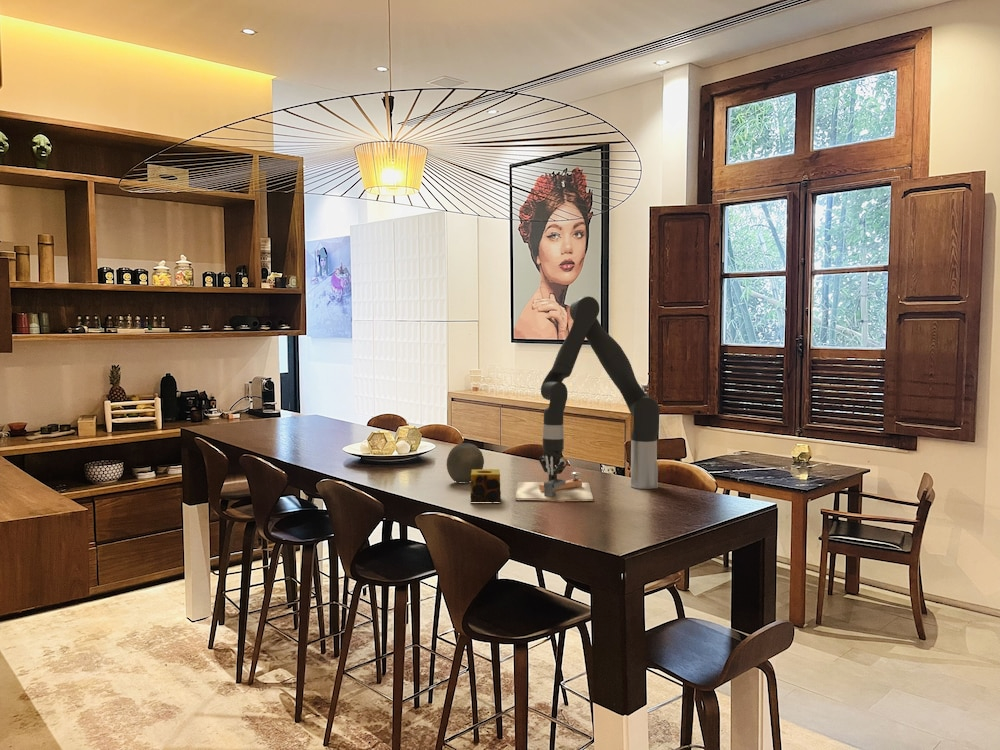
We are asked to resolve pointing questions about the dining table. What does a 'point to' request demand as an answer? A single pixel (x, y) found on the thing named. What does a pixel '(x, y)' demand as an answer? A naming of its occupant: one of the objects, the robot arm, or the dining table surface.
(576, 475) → the silver metal ball
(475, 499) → the candle
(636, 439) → the robot arm
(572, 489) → the board
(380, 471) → the dining table surface
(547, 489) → the block
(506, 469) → the dining table surface
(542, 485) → the link
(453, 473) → the dark grey ball
